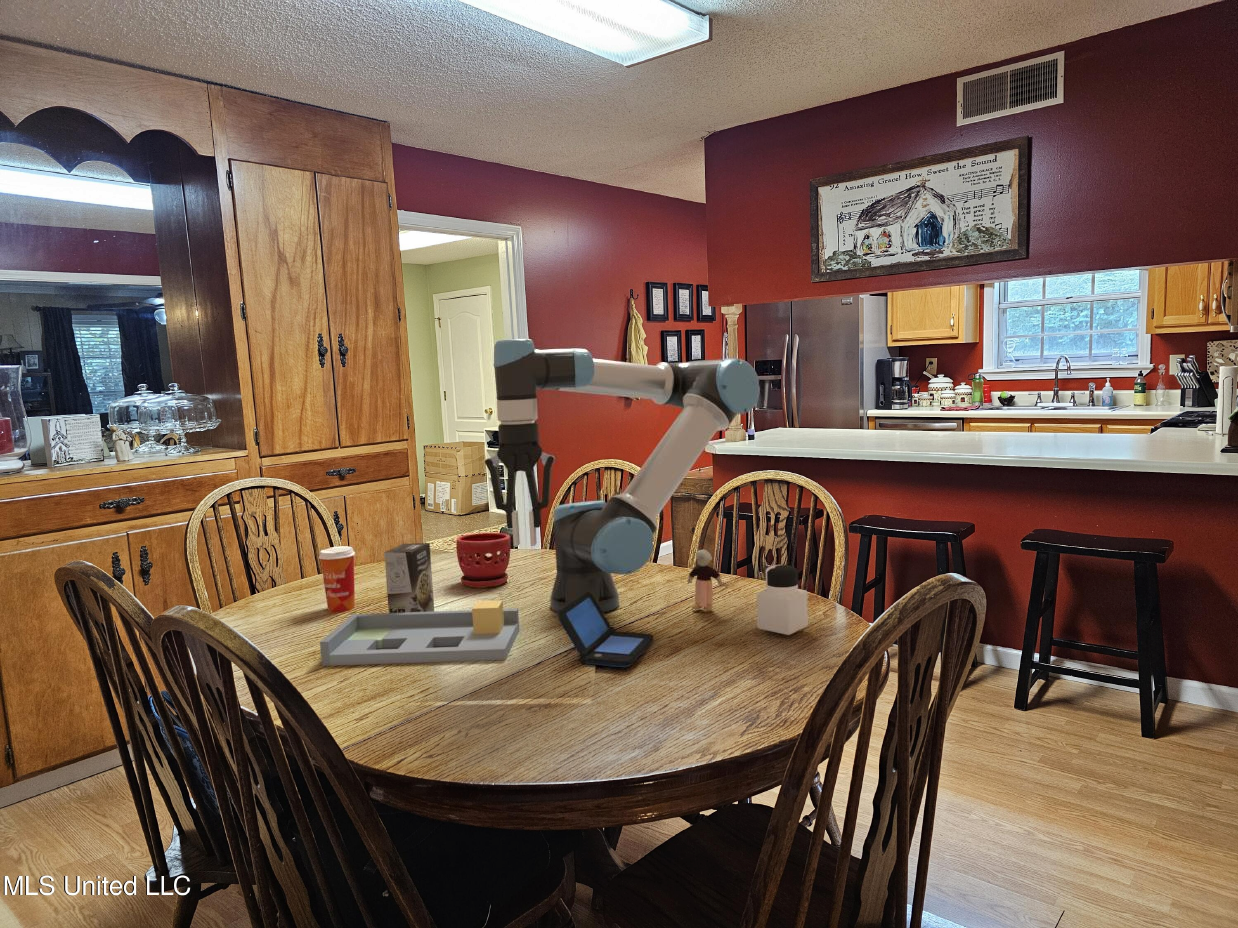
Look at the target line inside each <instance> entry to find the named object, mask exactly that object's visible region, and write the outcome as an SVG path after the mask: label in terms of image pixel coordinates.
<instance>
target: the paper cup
mask: <svg viewBox="0 0 1238 928" xmlns="http://www.w3.org/2000/svg"><path fill="white" fill-rule="evenodd" d="M355 555H356V552H355V551H354V549H353V547H352V546H347V545H346V546H333V547H328V548H325V549H321V550H320V551H319V556H318V559H319V560H320V566H321V571H322V578H323V585H324V592H325V598H326V604H327V609H328V612H329V613H344V612H348V611H352V610H354V609H356V607H355V605H356V603H355V602H356V601H355V600H356V598H355V595H356V594H355V593H356V592H355V561H354V558H355Z"/></svg>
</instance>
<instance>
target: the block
mask: <svg viewBox="0 0 1238 928" xmlns="http://www.w3.org/2000/svg"><path fill="white" fill-rule="evenodd" d="M503 609H504V601H503V600H502V599H501V600H500V599H499V600H498V599H497V600H481V601H480V600H477V601H476V602H475V604H474V605H473V607H472V608H471V610H472V615H473V629H474V634H492V633H500V632H501V630H502V628H503V626H504V613H503Z"/></svg>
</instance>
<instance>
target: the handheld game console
mask: <svg viewBox="0 0 1238 928" xmlns="http://www.w3.org/2000/svg"><path fill="white" fill-rule="evenodd" d="M557 619H558V620H559V622H560V624H561V626H562V628H563V629H564V630H565V632H566V634H567V636H568V637H569V639H570V640H571V642H572V644H573V646H574V647H575V650H576V651H577V652H578V654H579V663H580V664H582V665H585V664H587V665H595V666H608V667H617V668H628V667H630V666H631V665H633V663H634V662H636V660H637V659H638V658H639V657H640V656H641V655H642V654H643V653H644V652H645V650H646V649H648V647H649V646H650V645H651V644H652V643H653V642H654V640H655V639H654V634H651V633H647V632H646V633H644V632H630V631H620V630H619V631H616V629H615V628H614V627H613V626H611V624H610V622H609V620H608V618H607V617H606V616H605V615H604V612H602V610H601V609H600V607H599V605H598V604H597V602H596V600H595V599H594V597H593V595H592V594H591V593H589V592H586V593H585V594H583V595H582V596H580V597H579V598H577V599H576V600H575V601H573V602H572V603H570V604H569V605H567V606H566V607H564V608H563V609H562V610H560V611H559V612H557Z"/></svg>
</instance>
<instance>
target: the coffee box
mask: <svg viewBox="0 0 1238 928" xmlns="http://www.w3.org/2000/svg"><path fill="white" fill-rule="evenodd" d="M430 545H431V544H430V542H412V543H402V544H400V545H397V546H395V547H393V548H391V549H389V550H386V551H384V566H385V579H386V581H385V583H386V595H387V607H388V613H404V612H432V611H435V599H434V590H433V589H434V588H433V586H434V585H433V574H432V573H433V572H432V561H431V560H432V558H431V546H430Z"/></svg>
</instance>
